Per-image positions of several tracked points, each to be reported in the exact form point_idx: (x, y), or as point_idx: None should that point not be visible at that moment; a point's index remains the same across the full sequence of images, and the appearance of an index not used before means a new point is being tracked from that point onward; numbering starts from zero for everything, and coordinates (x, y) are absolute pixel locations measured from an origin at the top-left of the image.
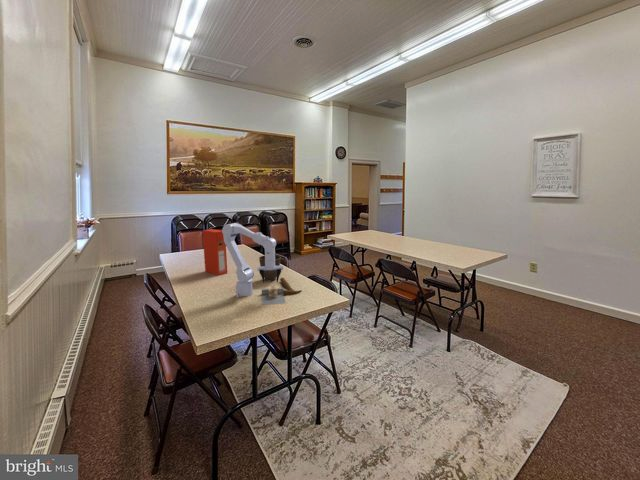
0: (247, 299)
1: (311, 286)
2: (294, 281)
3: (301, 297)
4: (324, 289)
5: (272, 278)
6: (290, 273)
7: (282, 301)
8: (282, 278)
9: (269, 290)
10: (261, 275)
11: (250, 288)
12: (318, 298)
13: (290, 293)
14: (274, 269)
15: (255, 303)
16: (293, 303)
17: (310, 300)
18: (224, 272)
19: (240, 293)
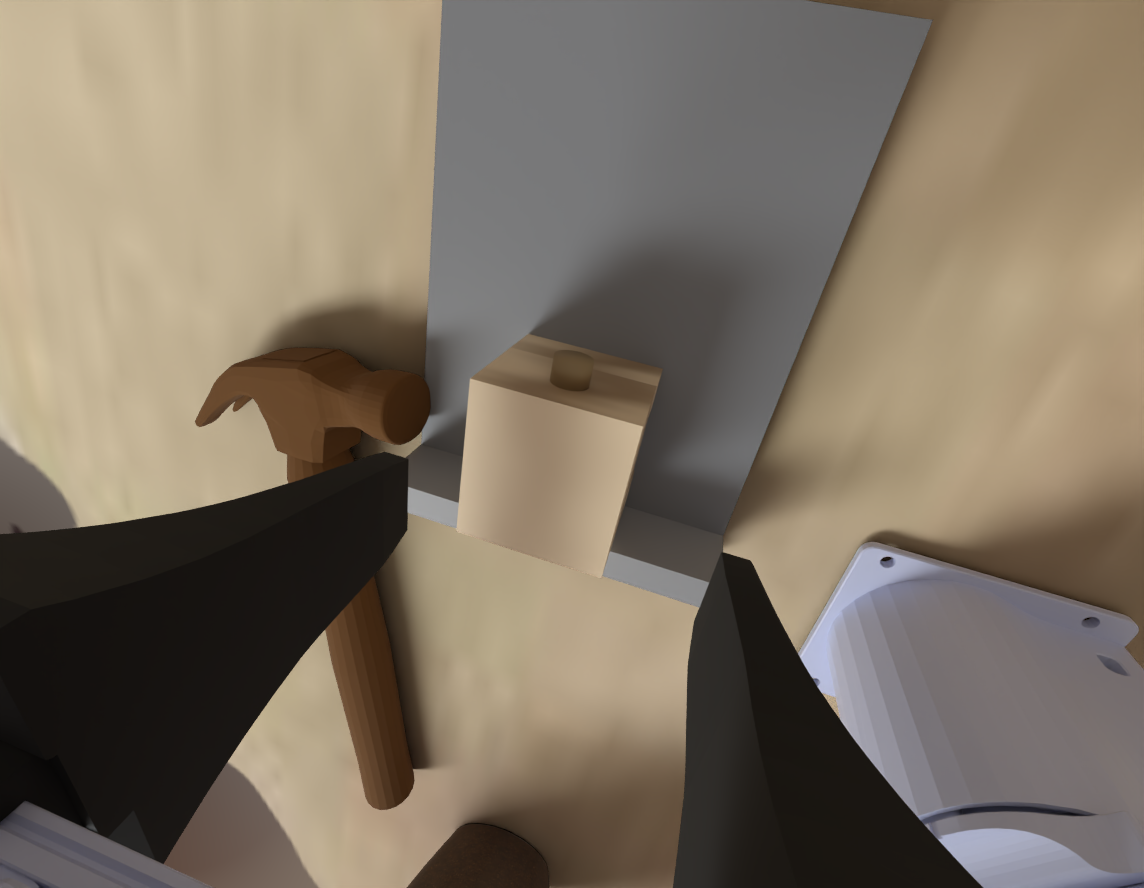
0: (988, 499)
1: None
2: (295, 715)
3: (221, 244)
4: (5, 396)
5: (475, 848)
6: (321, 858)
7: (487, 83)
8: (377, 791)
9: (629, 411)
10: (883, 794)
11: (924, 680)
12: (10, 109)
13: (327, 359)
14: (112, 886)
15: (954, 264)
16: (331, 4)
17: (97, 60)
18: None
19: (1088, 666)
